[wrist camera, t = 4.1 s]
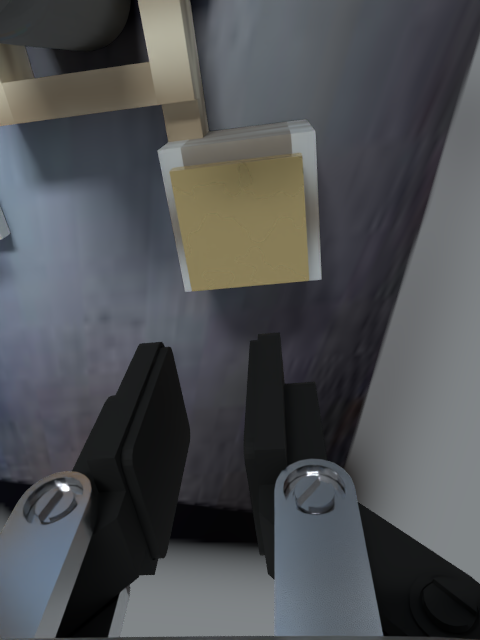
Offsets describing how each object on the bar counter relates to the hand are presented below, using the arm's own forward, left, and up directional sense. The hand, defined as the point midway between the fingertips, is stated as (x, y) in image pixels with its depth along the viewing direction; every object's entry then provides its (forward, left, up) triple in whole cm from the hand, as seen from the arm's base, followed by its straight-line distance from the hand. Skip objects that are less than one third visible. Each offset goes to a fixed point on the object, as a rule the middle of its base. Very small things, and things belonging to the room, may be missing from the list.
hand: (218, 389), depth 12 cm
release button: (0, 0, -19) cm, 19 cm away
